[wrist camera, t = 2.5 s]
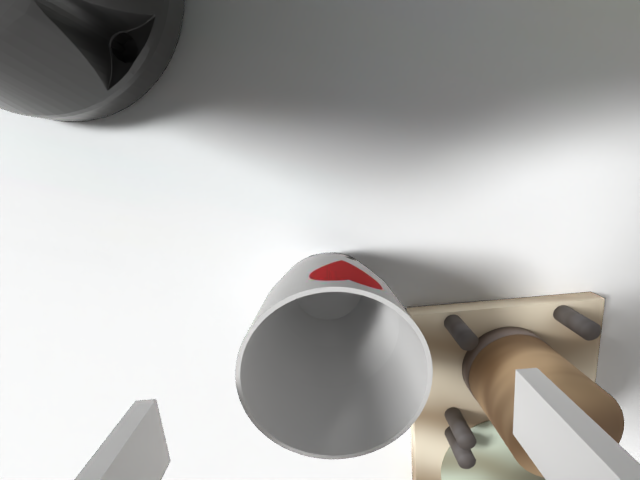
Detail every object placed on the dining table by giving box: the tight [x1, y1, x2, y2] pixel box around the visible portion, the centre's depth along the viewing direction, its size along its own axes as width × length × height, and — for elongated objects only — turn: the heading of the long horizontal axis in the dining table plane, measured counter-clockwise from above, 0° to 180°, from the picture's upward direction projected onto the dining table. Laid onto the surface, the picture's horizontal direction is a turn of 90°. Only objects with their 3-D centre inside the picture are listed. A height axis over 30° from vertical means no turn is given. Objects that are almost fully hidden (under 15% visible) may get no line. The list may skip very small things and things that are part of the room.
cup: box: [235, 253, 433, 459], centre depth 19 cm, size 8×8×10 cm
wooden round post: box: [462, 326, 624, 477], centre depth 21 cm, size 6×6×6 cm
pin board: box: [407, 292, 605, 480], centre depth 24 cm, size 18×13×4 cm
